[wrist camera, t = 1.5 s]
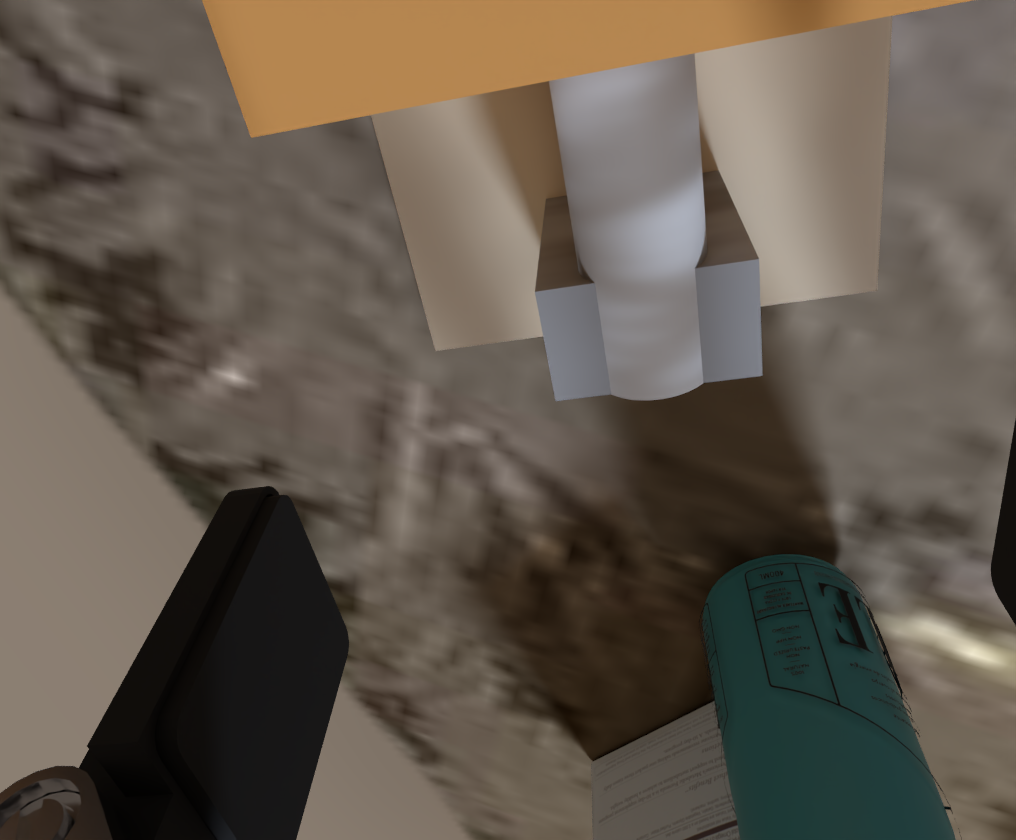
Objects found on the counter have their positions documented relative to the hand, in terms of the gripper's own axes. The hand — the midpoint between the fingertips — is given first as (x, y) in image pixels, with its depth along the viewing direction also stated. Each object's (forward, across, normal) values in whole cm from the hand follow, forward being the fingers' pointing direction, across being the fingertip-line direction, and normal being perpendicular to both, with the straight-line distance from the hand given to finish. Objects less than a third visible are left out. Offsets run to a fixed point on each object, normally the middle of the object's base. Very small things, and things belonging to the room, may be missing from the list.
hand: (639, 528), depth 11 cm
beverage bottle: (+17, -5, +18) cm, 26 cm away
